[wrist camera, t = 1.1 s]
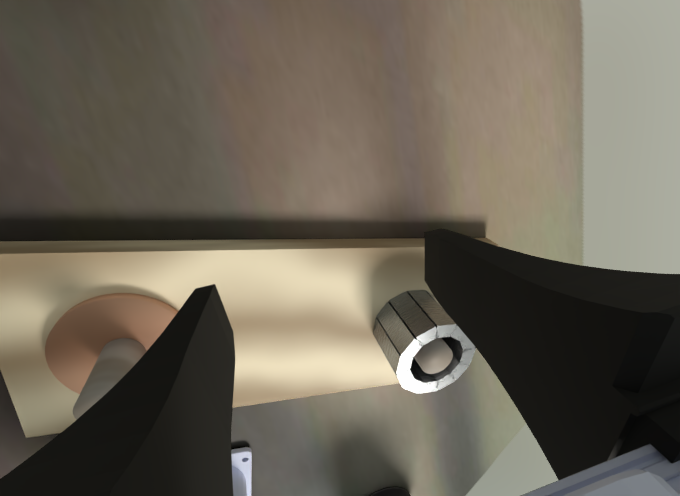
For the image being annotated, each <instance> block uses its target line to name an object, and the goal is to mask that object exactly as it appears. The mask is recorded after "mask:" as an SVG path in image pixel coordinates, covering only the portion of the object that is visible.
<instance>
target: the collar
mask: <svg viewBox="0 0 680 496" xmlns="http://www.w3.org/2000/svg"><path fill="white" fill-rule="evenodd" d="M389 301H390V302H387V303H386V304H385V305H384V307H383V308H382V309H381V310H380V312H379V313H378V314H377V317H376V318H375V323H374V329H373V335H374V337H375V339H376V341H377V343H378V345H379V347H380V348H381V350H382V352H383V354H384V355H385V357H386V359H387V361H388V362H389V364H390V366H391V368H392V370H393V371H394V373H395V375H396V377H397V378H398V380H399V382H400V384H401V385H402V387H403V388H404V389H407V390H409V391H412V392H415V393H417V394H418V393H419V394H420V393H427V392H433V391H437V389H438V390H440V389H442V388H443V387H445V386H447V385H449V384H450V383H452V382H454V381H456V380H455V379H458V378H459V377H460V375H461V374H462V373H463V372H464V371H465V370H466V369H467V368H468V366H469V364H471V361H472V358H473V355H474V352H475V349H476V347H475V346H474V345H473V343H472V342H471V341H470V340H469V339H468V337H467V336H466V335H465V334H464V333H463V332H462V330H461V329H460V328H459V327H458V326H457V324H456V323H455V322H454V321H453V320H452V319H451V317H450V316H449V315H448V314H447V313H446V311H445V310H444V309H443V308H442V306H441V305H440V304H439V303H438V301H437V300H436V298H435V297H434V295H433V294H431V293H430V292H428V291H426V290H410V291H407V292H406V291H405V292H403V293H401V294H399V295H398V296H396V297H394V298H392V299H390V300H389ZM436 338H442V339H443V341H444V342H445V343H446V344H447V345H448V347H449V348H450V349H451V350H452V353H453V357H452V360H451V362H450V364H449V365H448V366H447V367H446V368H445V369H444V370H442V371H440V372H438V373H435V374H428V373H425V372H424V371H423V370H422V369H421V367H420V366H419V364H418V363H417V361H416V360H415V358H414V356H415V355H416V353H417V352H418V351H419V350H420V349H421V347H422V346H423V345H425V344H427V343H429V342H430V341H432V340H434V339H436Z"/></svg>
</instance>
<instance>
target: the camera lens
mask: <svg viewBox="0 0 680 496" xmlns="http://www.w3.org/2000/svg"><path fill="white" fill-rule="evenodd" d="M370 496H410V494H409V492H408V491H407V490H405V489H403V488H399V487H391V488H386V489H383V490H380V491H378V492H375V493H373V494H372V495H370Z"/></svg>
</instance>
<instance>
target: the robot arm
mask: <svg viewBox="0 0 680 496" xmlns="http://www.w3.org/2000/svg"><path fill="white" fill-rule="evenodd" d="M424 280H425V282H426V284H427V285H428V287H429V289H430V290H431V292H432V294H433V295H434V297H435V298H436V300H437V301H438V303H439V304H440V305H441V306H442V308H443V309H444V310H445V311H446V313H447V314H448V315H449V316H450V317H451V319H452V320H453V321H454V322H455V323H456V324H457V326H458V327H459V328H460V329H461V330H462V332H463V333H464V334H465V335H466V336H467V337H468V339H469V340H470V341H471V342H472V343H473V345H474V346H475V347H476V348H477V349H478V351H479V352H480V353H481V355H482V356H483V357H484V358H485V360H486V361H487V363H488V364H489V366H490V367H491V369H492V370H493V372H494V373H495V374H496V376H497V377H498V379H499V380H500V382H501V383H502V385H503V386H504V388H505V390H506V391H507V393H508V394H509V396H510V397H511V399H512V401H513V402H514V404H515V405H516V407H517V408H518V410H519V412H520V413H521V415H522V417H523V418H524V420H525V422H526V423H527V425H528V427H529V428H530V430H531V432H532V433H533V435H534V437H535V438H536V440H537V442H538V443H539V445H540V447H541V449H542V451H543V452H544V454H545V456H546V458H547V460H548V461H549V463H550V465H551V467H552V469H553V470H554V472H555V474H556V476H557V478H558V481H556V482H553V483H551V484H548V485H546V486H544V487H541V488H538V489H536V490H533V491H531V492H529V493H526V494H524V495H521V496H680V274H657V273H643V272H630V271H620V270H610V269H602V268H595V267H588V266H581V265H575V264H569V263H563V262H558V261H554V260H549V259H544V258H539V257H535V256H531V255H527V254H524V253H520V252H516V251H512V250H509V249H506V248H502V247H499V246H496V245H493V244H489V243H486V242H483V241H480V240H477V239H474V238H471V237H468V236H465V235H462V234H459V233H456V232H452V231H449V230H445V229H437V230H433V231H429V232H425V275H424ZM234 375H235V345H234V333H233V329H232V327H231V324H230V322H229V319H228V316H227V314H226V311H225V308H224V306H223V303H222V301H221V298H220V295H219V293H218V290H217V288H216V285H215V284H213V285H208V286H204V287H200V288H196V289H195V290H194V291H193V292H192V294H191V295H190V296H189V298H188V299H187V300H186V302H185V303H184V304H183V306H182V307H181V309H180V310H179V311H178V313H177V314H176V315H175V317H174V318H173V319H172V321H171V322H170V323H169V325H168V326H167V327H166V329H165V330H164V331H163V332H162V334H161V335H160V336H159V337H158V338H157V340H156V341H155V342H154V343H153V344H152V346H151V347H150V348H149V349H148V350H147V351H146V353H145V354H144V355H143V356H142V357H141V359H140V360H139V361H138V362H137V363H136V364H135V365H134V366H133V367H132V368H131V369H130V370H129V372H128V373H127V374H126V375H125V376H124V377H123V378H122V379H121V380H120V381H119V382H118V383H117V384H116V385H115V386H114V387H113V388H112V389H110V390H109V391H108V392H107V393H106V394H105V395H104V396H103V397H102V398H101V399H100V400H98V401H97V402H96V403H95V404H94V405H93V406H92V407H91V408H89V409H88V410H87V411H86V412H85V413H84V414H83V415H81V416H80V417H79V418H78V419H77V420H76V421H75V422H74V423H72V424H71V425H70V426H69V427H68V428H66V429H65V430H64V431H63V432H61V433H60V434H59V435H58V436H56V437H55V438H54V439H53V440H52V441H50V442H49V443H48V444H47V445H45V446H44V447H43V448H41V449H40V450H39V451H37V452H36V453H35V454H33V455H32V456H31V457H30V458H28V459H27V460H26V461H24V462H23V463H22V464H20V465H19V466H18V467H16V468H15V469H14V470H12V471H11V472H9V473H8V474H7V475H5V476H4V477H2V478H1V479H0V496H251V468H252V452H251V449H250V448H249V447H243V448H238V449H232V450H231V421H232V406H233V391H234Z"/></svg>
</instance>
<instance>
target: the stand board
mask: <svg viewBox="0 0 680 496" xmlns="http://www.w3.org/2000/svg"><path fill="white" fill-rule="evenodd" d="M474 239H477V240H480V241H483V242H486V243H489V244H493V245H496V246H499V245H497V244H496V243H494V242H492V241H491V240H489V239H487V238H474ZM499 247H500V246H499ZM424 275H425V238H387V239H252V240H118V241H0V370H1V373H2V375H3V378H4V381H5V383H6V386H7V389H8V391H9V394H10V396H11V399H12V402H13V404H14V407H15V410H16V412H17V415H18V418H19V420H20V423H21V426H22V428H23V431H24V434H25V436H26V438H29V437H35V436H42V435H49V434H56V433H61V432H63V431H64V430H65V429H66V428H68V427H69V426H70V425H71V424H72V423H74V422H75V421H76V420H77V419H78V418H79V417H80V416H81V415H83V414H84V413H85V412H86V411H87V410H88V409H89V408H91V407H92V406H93V405H94V404H95V403H96V402H97V401H98V400H100V399H101V398H102V397H103V396H104V395H105V394H106V393H107V392H108V391H109V390H110V389H112V388H113V387H114V386H115V385H116V384H117V383H118V382H119V381H120V380H121V379H122V378H123V377H124V376H125V375H126V374H127V373H128V372H129V370H130V369H131V368H132V367H133V366H134V365H135V364H136V363H137V362H138V361H139V360H140V359H141V357H142V356H143V355H144V354H145V353H146V351H147V350H148V349H149V348H150V347H151V346H152V344H153V343H154V342H155V341H156V340H157V338H158V337H159V336H160V335H161V334H162V332H163V331H164V330H165V329H166V327H167V326H168V325H169V323H170V322H171V321H172V319H173V318H174V317H175V315H176V314H177V313H178V311H179V310H180V309H181V307H182V306H183V304H184V303H185V302H186V300H187V299H188V298H189V296H190V295H191V294H192V292H193V291H194V290H195V289H196V288H200V287H204V286H208V285H213V284H215V285H216V288H217V290H218V293H219V295H220V298H221V301H222V303H223V306H224V308H225V311H226V314H227V316H228V319H229V322H230V324H231V327H232V329H233V333H234V345H235V375H234V391H233V406H232V408H233V407H240V406H247V405H254V404H260V403H267V402H274V401H281V400H288V399H295V398H301V397H308V396H315V395H322V394H329V393H335V392H342V391H349V390H356V389H363V388H370V387H376V386H383V385H390V384H397V383H400V382H399V380H398V378H397V377H396V375H395V373H394V371H393V370H392V368H391V366H390V364H389V362H388V361H387V359H386V357H385V355H384V354H383V352H382V350H381V348H380V347H379V345H378V343H377V341H376V339H375V337H374V335H373V329H374V323H375V318H376V317H377V314H378V313H379V312H380V310H381V309H382V308H383V307H384V305H385V304H386V303H387V302H390V301H389V300H390V299H392V298H394V297H396V296H398V295H399V294H401V293H403V292H405V291H406V292H407V291H410V290H426V291H428V292H430V293H431V294H432V292H431V290H430V289H429V287H428V285H427V284H426V282H425V280H424ZM452 357H453V353H452V350H451V349H450V348H449V347H448V345H447V344H446V343H445V342H444V341H443V339H442V338H436V339H434V340H432V341H430V342H429V343H427V344H425V345H423V346H422V347H421V349H420V350H419V351H418V352H417V353H416V355H415V356H414V358H415V360H416V361H417V363H418V364H419V366H420V367H421V369H422V370H423V371H424V372H425V373H428V374H435V373H438V372H440V371H442V370H444V369H445V368H446V367H447V366H448V365H449V364H450V362H451V360H452Z"/></svg>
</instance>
